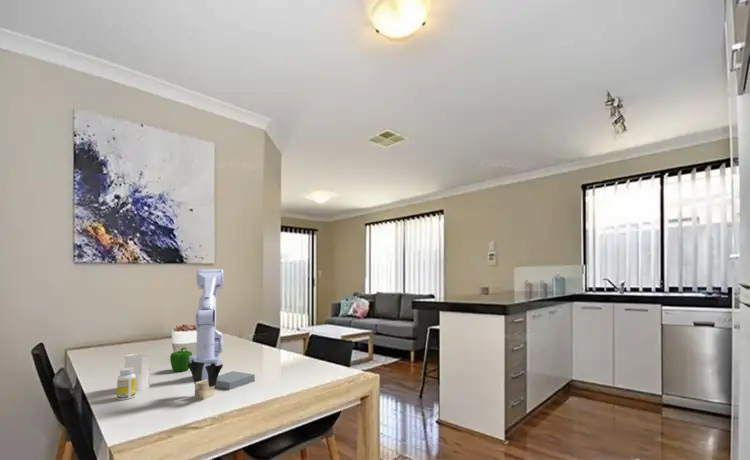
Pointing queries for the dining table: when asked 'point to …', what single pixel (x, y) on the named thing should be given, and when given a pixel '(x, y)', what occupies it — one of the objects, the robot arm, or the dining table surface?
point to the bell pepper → (180, 360)
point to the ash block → (204, 390)
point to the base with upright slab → (139, 370)
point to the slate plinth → (234, 380)
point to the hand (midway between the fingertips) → (204, 384)
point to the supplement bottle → (126, 384)
